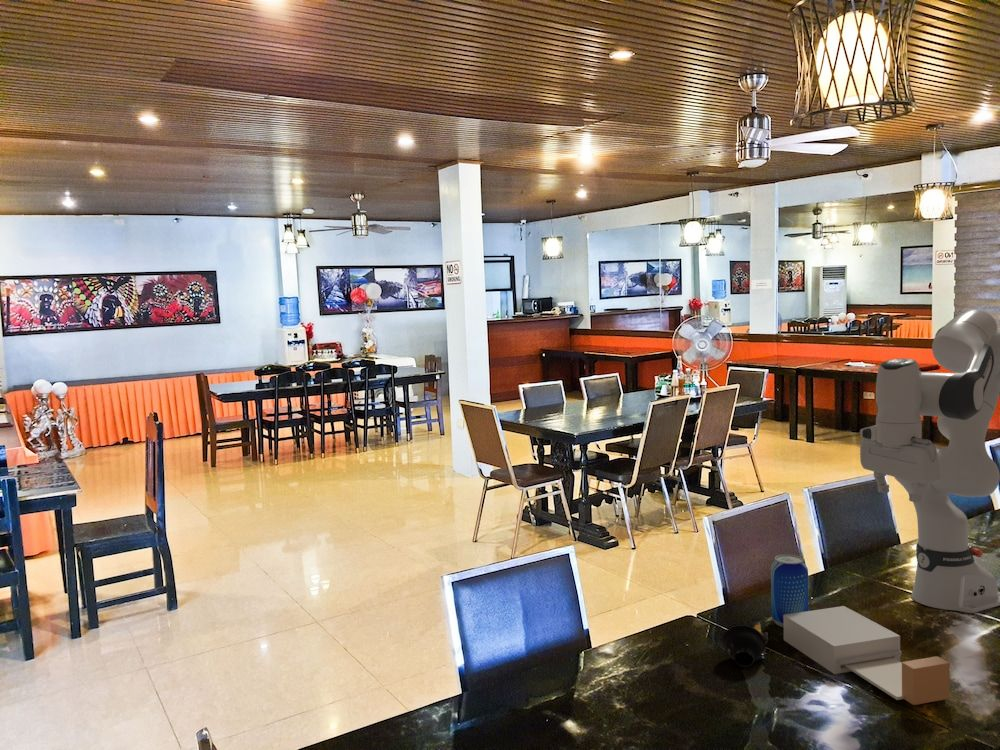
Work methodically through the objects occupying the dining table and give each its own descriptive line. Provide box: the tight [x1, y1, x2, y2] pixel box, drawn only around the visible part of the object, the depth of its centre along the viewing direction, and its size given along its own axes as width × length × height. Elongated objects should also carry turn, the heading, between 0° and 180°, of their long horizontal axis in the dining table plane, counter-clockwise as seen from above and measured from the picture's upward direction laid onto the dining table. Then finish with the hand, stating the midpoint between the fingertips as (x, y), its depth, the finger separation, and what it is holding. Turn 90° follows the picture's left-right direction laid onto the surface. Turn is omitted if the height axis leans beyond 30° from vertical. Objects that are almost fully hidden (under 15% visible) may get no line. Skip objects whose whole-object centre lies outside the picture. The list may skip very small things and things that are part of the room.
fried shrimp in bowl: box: [721, 621, 769, 668], centre depth 172 cm, size 9×11×18 cm
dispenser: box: [783, 605, 903, 675], centre depth 171 cm, size 16×19×6 cm
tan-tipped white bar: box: [843, 655, 951, 706], centre depth 157 cm, size 11×22×7 cm, turn 13°
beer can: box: [770, 554, 810, 629], centre depth 188 cm, size 8×8×16 cm
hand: (898, 496), depth 169 cm, fingers open, 8 cm apart
